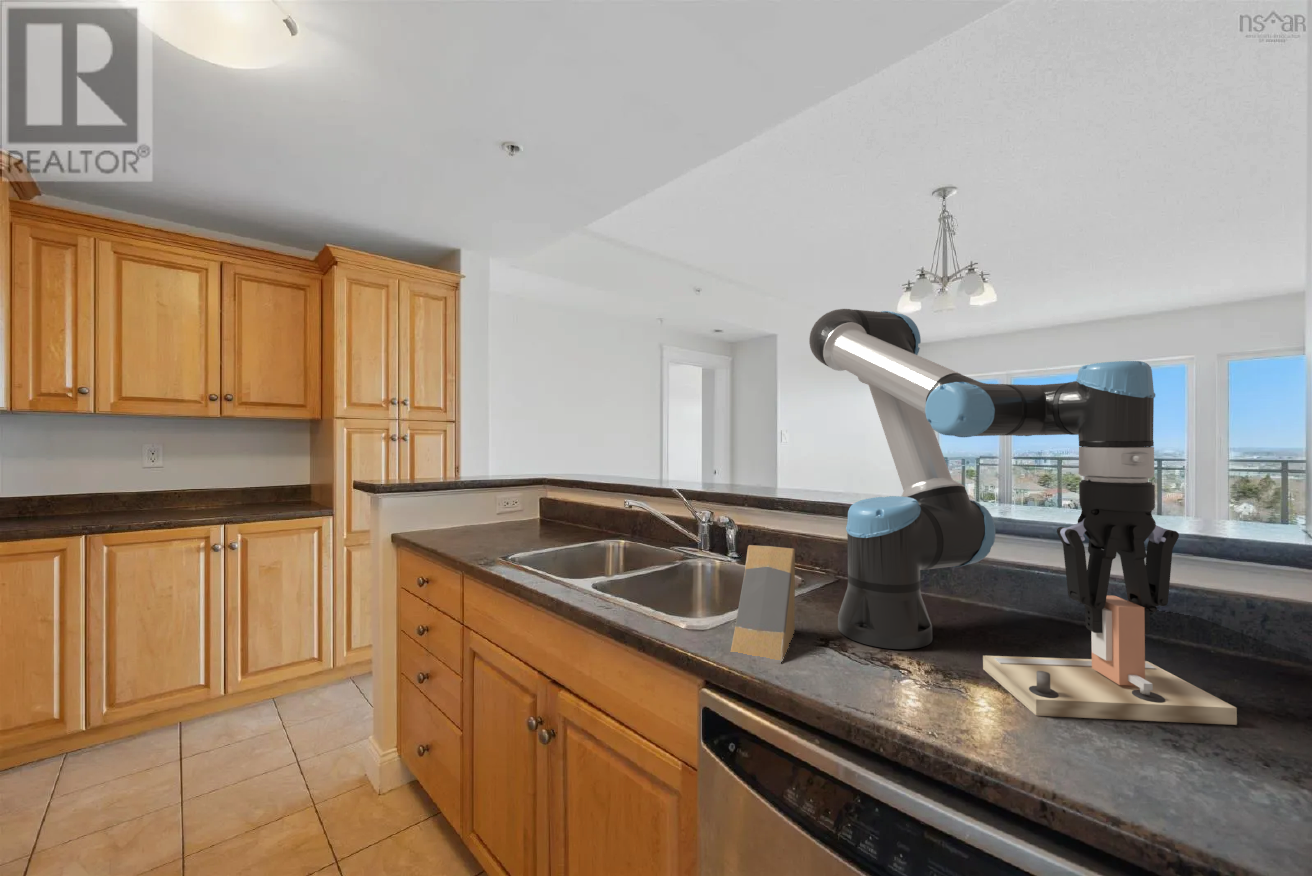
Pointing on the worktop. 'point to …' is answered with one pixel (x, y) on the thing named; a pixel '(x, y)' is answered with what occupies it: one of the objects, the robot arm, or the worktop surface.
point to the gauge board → (1104, 692)
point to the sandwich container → (766, 603)
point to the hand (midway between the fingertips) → (1117, 656)
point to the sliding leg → (1125, 646)
